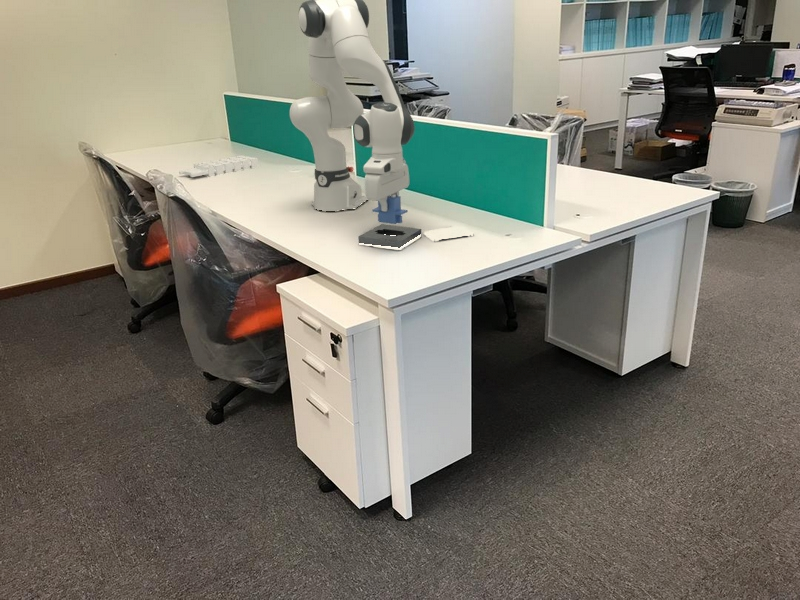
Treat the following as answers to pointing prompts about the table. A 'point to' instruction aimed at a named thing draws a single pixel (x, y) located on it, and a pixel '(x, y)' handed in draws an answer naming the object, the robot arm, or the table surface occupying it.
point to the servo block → (391, 210)
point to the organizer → (221, 166)
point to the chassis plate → (378, 237)
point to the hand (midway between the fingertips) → (389, 208)
